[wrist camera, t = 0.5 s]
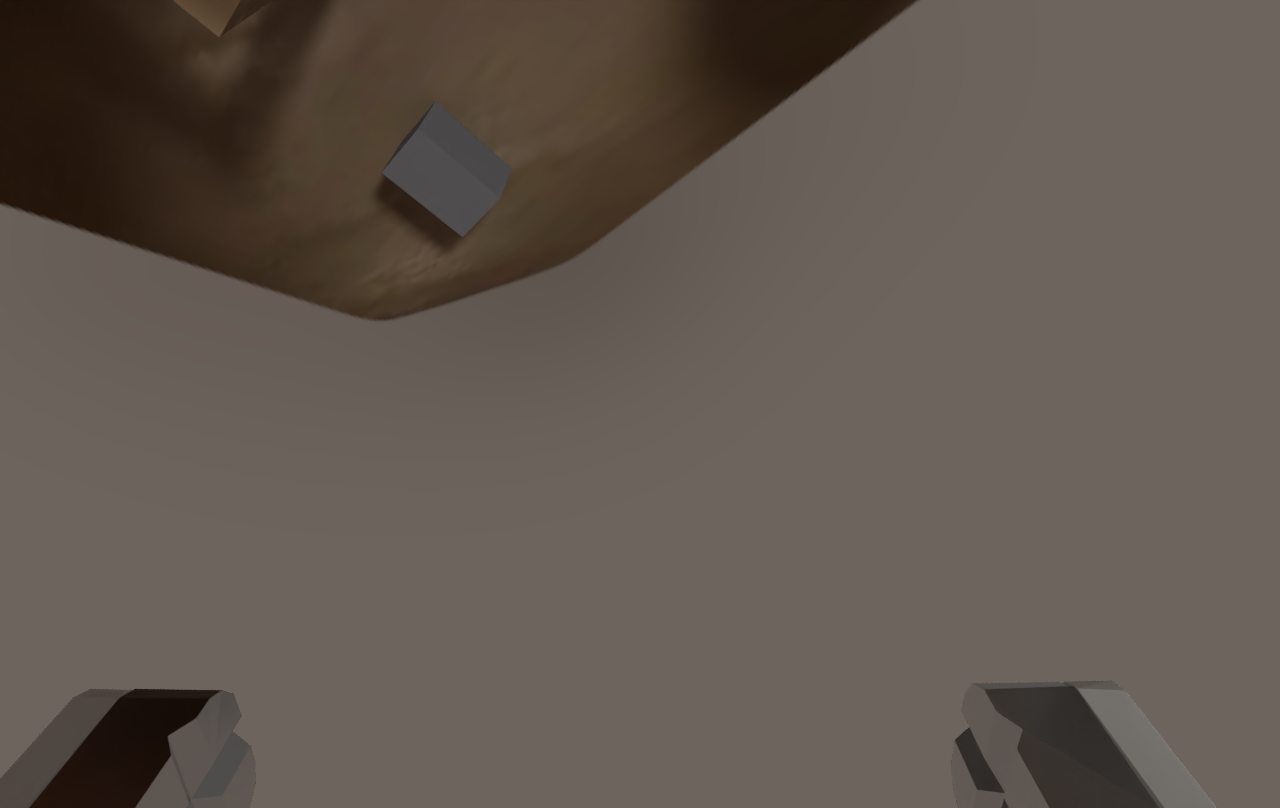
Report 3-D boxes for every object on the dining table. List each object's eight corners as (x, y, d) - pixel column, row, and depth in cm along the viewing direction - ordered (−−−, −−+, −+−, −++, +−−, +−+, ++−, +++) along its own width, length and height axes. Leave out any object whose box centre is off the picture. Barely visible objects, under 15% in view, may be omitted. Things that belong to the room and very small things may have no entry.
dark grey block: (435, 100, 55) (418, 128, 51) (512, 167, 58) (500, 198, 55) (401, 142, 57) (381, 172, 54) (476, 205, 60) (462, 237, 57)
